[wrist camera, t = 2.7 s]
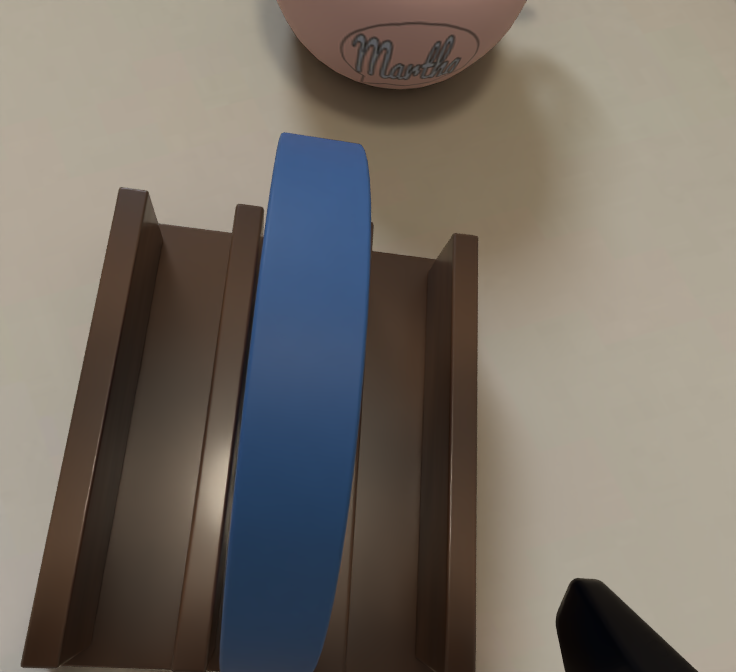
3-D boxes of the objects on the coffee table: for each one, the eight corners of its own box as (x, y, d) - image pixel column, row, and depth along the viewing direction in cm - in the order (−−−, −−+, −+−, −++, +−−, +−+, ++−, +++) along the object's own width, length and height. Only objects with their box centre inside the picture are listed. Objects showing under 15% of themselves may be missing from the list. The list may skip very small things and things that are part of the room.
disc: (289, 633, 17) (341, 766, 7) (231, 631, 17) (197, 765, 7) (321, 272, 21) (386, 12, 11) (273, 266, 21) (293, -5, 10)
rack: (449, 670, 19) (500, 706, 15) (45, 656, 17) (-16, 693, 13) (456, 276, 23) (498, 222, 19) (128, 234, 21) (99, 167, 17)
